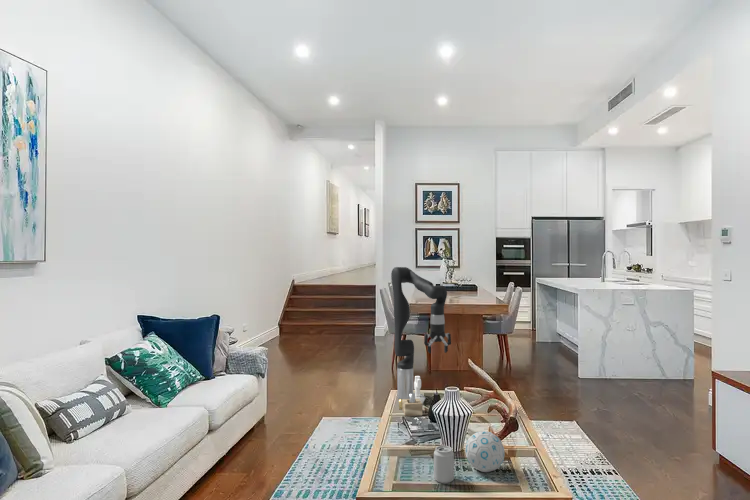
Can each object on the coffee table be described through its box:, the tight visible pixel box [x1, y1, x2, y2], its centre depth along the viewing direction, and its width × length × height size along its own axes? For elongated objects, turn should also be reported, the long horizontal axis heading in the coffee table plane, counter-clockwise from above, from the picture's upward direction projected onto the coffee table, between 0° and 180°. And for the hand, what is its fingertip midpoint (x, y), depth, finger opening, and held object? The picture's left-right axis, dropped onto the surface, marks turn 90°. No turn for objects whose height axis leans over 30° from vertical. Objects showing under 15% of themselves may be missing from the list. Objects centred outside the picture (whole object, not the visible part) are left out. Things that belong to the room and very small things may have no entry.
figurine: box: [413, 375, 426, 405], centre depth 290 cm, size 7×9×15 cm
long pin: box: [409, 392, 415, 403], centre depth 273 cm, size 3×3×10 cm
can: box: [433, 445, 455, 484], centre depth 197 cm, size 8×8×12 cm
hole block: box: [401, 399, 423, 417], centre depth 273 cm, size 9×9×6 cm
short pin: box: [398, 398, 402, 411], centre depth 280 cm, size 3×3×5 cm
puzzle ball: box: [464, 430, 505, 473], centre depth 205 cm, size 15×15×15 cm
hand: (437, 352), depth 280 cm, fingers open, 8 cm apart
